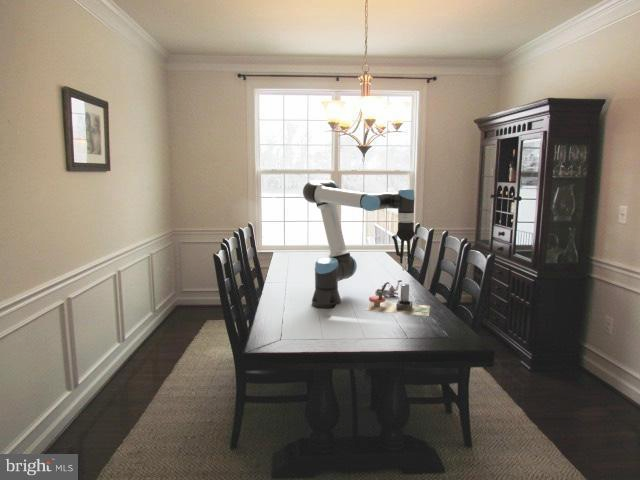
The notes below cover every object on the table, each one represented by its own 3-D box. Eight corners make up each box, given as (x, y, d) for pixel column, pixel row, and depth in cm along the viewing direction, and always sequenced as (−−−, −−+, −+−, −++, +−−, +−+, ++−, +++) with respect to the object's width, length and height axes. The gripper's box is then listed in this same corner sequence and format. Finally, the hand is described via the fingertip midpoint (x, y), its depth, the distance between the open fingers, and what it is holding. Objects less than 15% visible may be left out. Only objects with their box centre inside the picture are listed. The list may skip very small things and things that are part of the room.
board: (365, 313, 220) (365, 304, 219) (370, 303, 235) (371, 295, 234) (428, 319, 211) (428, 309, 210) (430, 308, 226) (430, 300, 226)
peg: (399, 309, 221) (400, 285, 219) (400, 306, 224) (401, 283, 222) (408, 310, 219) (408, 286, 217) (408, 307, 223) (409, 284, 221)
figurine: (401, 304, 243) (376, 303, 238) (394, 297, 251) (370, 295, 246) (407, 285, 239) (381, 283, 235) (400, 278, 247) (375, 276, 242)
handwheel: (374, 309, 220) (374, 293, 219) (366, 304, 228) (366, 289, 227) (388, 307, 224) (388, 291, 222) (380, 303, 231) (380, 287, 230)
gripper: (390, 222, 213) (389, 271, 217) (420, 222, 209) (419, 272, 213) (392, 220, 220) (391, 267, 224) (421, 221, 216) (420, 269, 220)
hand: (405, 270), depth 218 cm, fingers closed
